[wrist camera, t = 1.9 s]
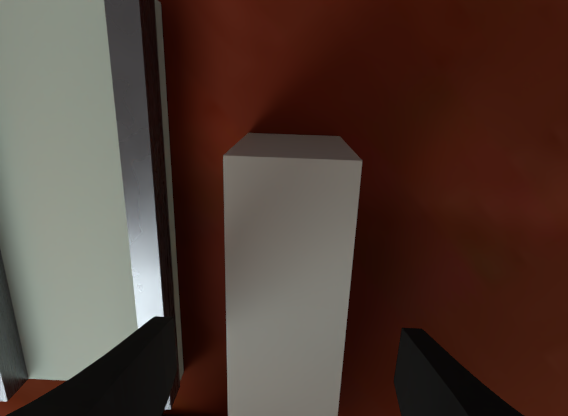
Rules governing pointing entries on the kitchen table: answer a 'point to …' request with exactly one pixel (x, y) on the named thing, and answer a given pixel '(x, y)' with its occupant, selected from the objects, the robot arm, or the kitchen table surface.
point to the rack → (82, 185)
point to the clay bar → (288, 271)
